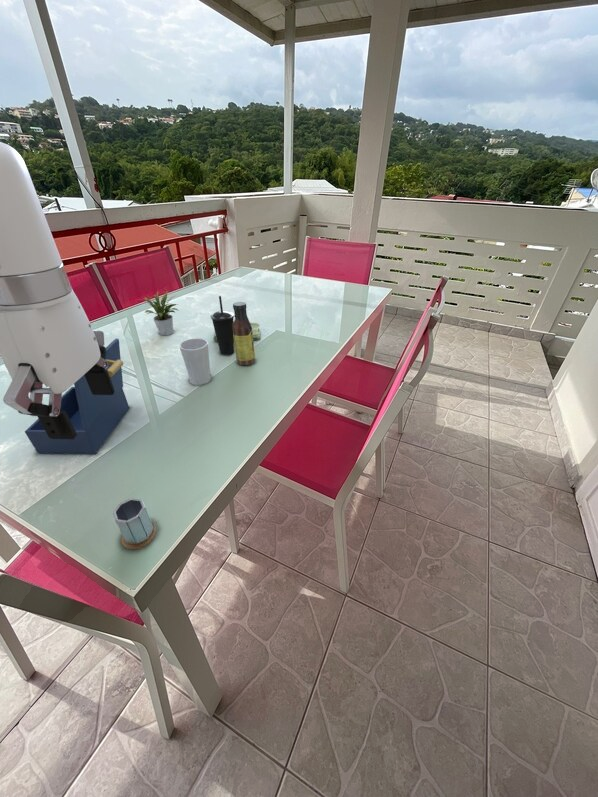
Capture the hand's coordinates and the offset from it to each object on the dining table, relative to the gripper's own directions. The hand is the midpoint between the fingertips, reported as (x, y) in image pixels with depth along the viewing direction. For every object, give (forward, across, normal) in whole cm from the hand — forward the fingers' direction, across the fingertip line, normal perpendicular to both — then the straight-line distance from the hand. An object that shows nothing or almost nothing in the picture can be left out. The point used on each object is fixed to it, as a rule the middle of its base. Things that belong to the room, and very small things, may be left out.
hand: (85, 413), depth 45 cm
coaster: (+26, +1, +1) cm, 26 cm away
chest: (+26, -27, -24) cm, 45 cm away
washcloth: (+26, -85, +3) cm, 89 cm away
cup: (+26, -51, -2) cm, 58 cm away
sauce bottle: (+26, -63, +10) cm, 69 cm away
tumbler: (+25, +1, +1) cm, 25 cm away
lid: (+12, -27, -16) cm, 34 cm away
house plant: (+26, -85, -26) cm, 93 cm away
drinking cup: (+26, -70, +2) cm, 75 cm away
